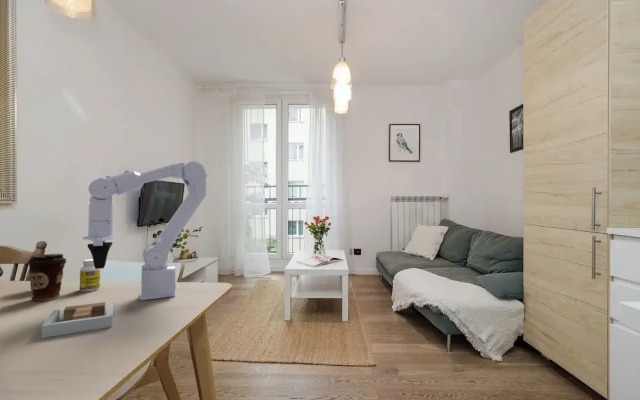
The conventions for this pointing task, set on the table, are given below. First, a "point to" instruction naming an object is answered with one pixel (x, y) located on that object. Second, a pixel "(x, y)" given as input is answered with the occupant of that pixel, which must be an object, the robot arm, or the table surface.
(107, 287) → the table surface
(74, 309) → the t block
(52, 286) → the coffee cup
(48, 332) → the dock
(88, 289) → the supplement bottle
